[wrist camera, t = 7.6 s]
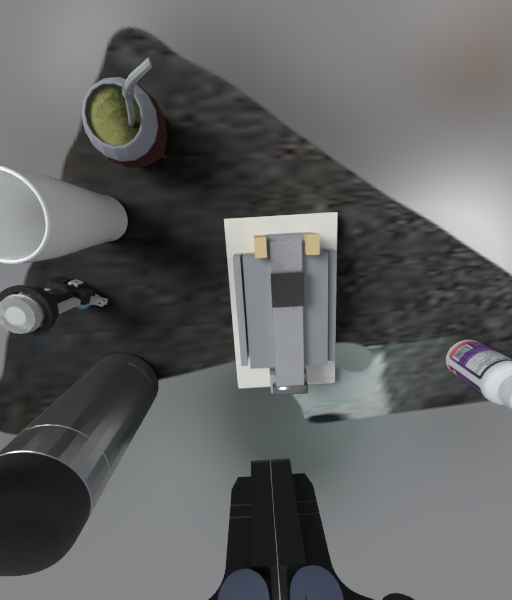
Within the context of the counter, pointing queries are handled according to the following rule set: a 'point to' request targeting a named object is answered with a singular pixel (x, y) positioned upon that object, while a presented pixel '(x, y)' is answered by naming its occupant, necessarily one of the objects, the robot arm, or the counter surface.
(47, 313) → the push button
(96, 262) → the counter surface
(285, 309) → the latch bar
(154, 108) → the mate gourd
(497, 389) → the pill bottle
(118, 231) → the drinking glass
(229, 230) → the base
